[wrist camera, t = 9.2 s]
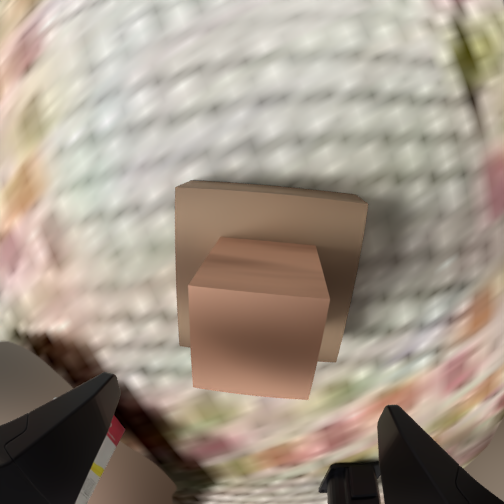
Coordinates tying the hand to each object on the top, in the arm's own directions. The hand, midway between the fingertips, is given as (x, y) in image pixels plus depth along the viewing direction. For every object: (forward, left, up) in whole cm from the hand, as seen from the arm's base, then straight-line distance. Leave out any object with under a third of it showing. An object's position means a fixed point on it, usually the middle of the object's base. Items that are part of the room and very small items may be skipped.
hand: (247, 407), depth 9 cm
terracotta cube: (0, 0, -9) cm, 9 cm away
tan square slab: (0, 0, -12) cm, 12 cm away
